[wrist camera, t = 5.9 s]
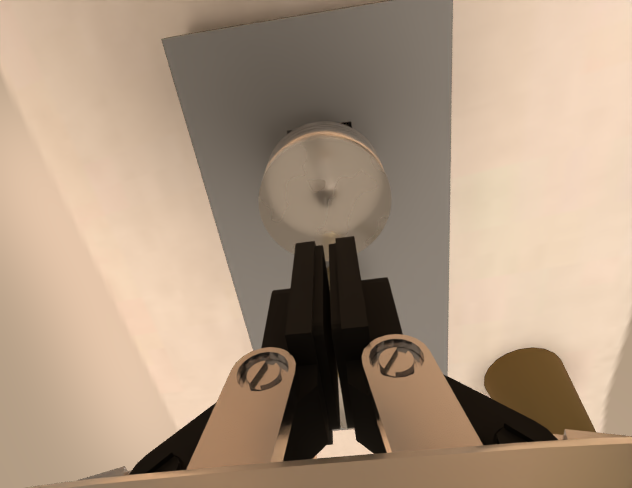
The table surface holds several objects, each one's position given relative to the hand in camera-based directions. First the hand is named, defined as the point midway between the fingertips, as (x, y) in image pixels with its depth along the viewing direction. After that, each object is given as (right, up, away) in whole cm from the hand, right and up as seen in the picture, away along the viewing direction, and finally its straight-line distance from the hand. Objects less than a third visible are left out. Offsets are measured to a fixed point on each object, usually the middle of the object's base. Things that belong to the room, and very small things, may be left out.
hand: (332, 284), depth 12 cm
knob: (0, +6, +9) cm, 10 cm away
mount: (+1, +1, +15) cm, 15 cm away
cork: (+16, -9, +21) cm, 28 cm away
